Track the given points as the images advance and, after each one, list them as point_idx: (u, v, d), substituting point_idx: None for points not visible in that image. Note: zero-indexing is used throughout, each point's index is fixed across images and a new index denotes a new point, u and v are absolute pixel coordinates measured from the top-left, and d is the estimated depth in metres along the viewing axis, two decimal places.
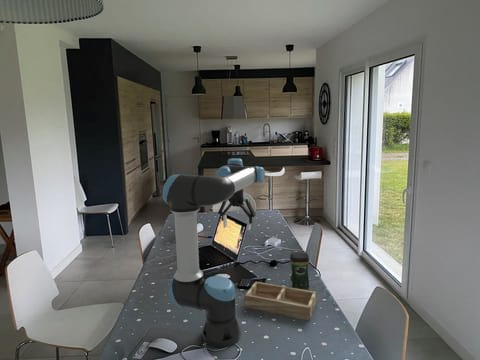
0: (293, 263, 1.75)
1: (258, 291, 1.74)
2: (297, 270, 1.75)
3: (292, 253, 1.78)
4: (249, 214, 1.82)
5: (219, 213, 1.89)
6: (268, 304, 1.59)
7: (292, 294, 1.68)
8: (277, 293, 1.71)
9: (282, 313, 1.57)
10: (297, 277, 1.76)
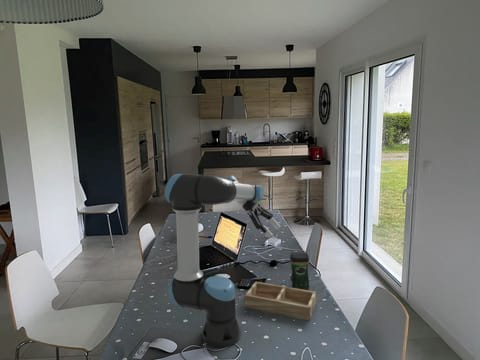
0: (293, 263, 1.75)
1: (258, 291, 1.74)
2: (297, 270, 1.75)
3: (292, 253, 1.78)
4: (269, 214, 1.88)
5: (260, 225, 1.73)
6: (268, 304, 1.59)
7: (292, 294, 1.68)
8: (277, 293, 1.71)
9: (282, 313, 1.57)
10: (297, 277, 1.76)
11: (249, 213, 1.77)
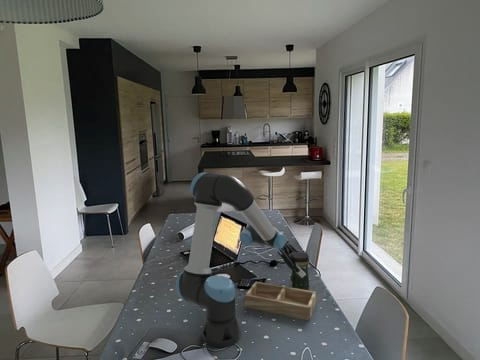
0: None
1: (258, 291, 1.74)
2: None
3: (292, 253, 1.78)
4: None
5: (293, 264, 1.72)
6: (268, 304, 1.59)
7: (292, 294, 1.68)
8: (277, 293, 1.71)
9: (282, 313, 1.57)
10: (296, 277, 1.76)
11: (280, 253, 1.74)
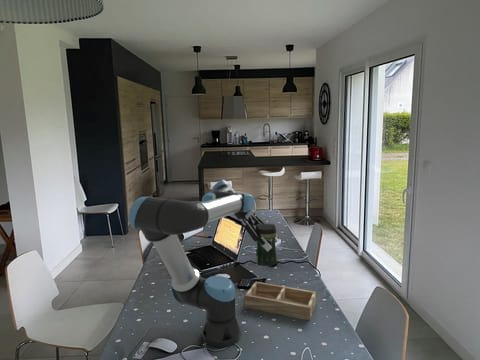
0: None
1: (258, 291, 1.74)
2: None
3: (258, 224, 1.60)
4: None
5: (258, 236, 1.55)
6: (268, 304, 1.59)
7: (292, 294, 1.68)
8: (277, 293, 1.71)
9: (282, 313, 1.57)
10: (262, 251, 1.58)
11: (243, 223, 1.57)
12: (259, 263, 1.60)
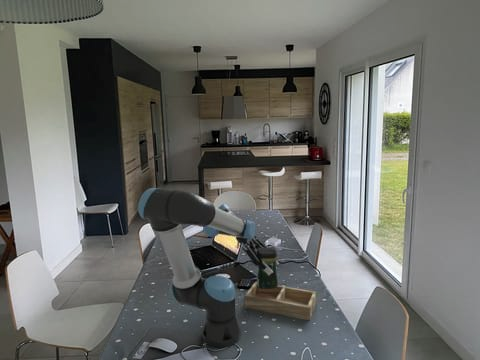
0: None
1: (258, 291, 1.74)
2: None
3: (259, 248, 1.63)
4: None
5: (259, 261, 1.58)
6: (268, 304, 1.59)
7: (292, 294, 1.68)
8: (277, 293, 1.71)
9: (282, 313, 1.57)
10: (263, 275, 1.62)
11: (245, 248, 1.60)
12: (260, 286, 1.63)
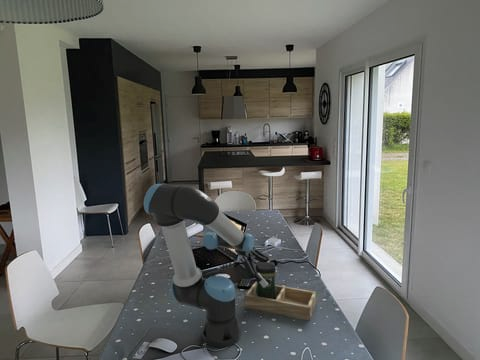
0: None
1: None
2: None
3: (257, 263, 1.64)
4: (265, 258, 1.71)
5: (254, 273, 1.56)
6: (268, 304, 1.59)
7: (292, 294, 1.68)
8: (277, 293, 1.71)
9: (282, 313, 1.57)
10: (262, 290, 1.62)
11: (242, 259, 1.60)
12: None
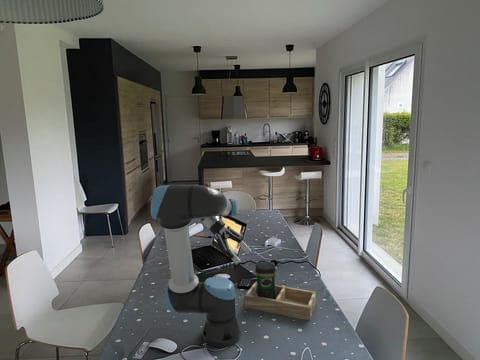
0: (258, 274, 1.61)
1: None
2: (262, 282, 1.61)
3: (257, 263, 1.64)
4: (239, 237, 1.75)
5: (226, 250, 1.60)
6: (268, 304, 1.59)
7: (292, 294, 1.68)
8: (277, 293, 1.71)
9: (282, 313, 1.57)
10: (262, 290, 1.62)
11: (215, 237, 1.64)
12: None
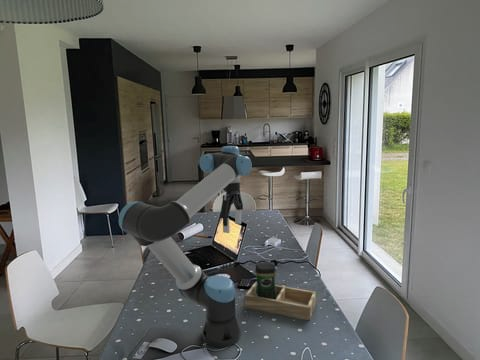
0: (258, 274, 1.61)
1: None
2: (262, 282, 1.61)
3: (257, 263, 1.64)
4: None
5: (225, 217, 1.51)
6: (268, 304, 1.59)
7: (292, 294, 1.68)
8: (277, 293, 1.71)
9: (282, 313, 1.57)
10: (262, 290, 1.62)
11: (224, 197, 1.52)
12: None
